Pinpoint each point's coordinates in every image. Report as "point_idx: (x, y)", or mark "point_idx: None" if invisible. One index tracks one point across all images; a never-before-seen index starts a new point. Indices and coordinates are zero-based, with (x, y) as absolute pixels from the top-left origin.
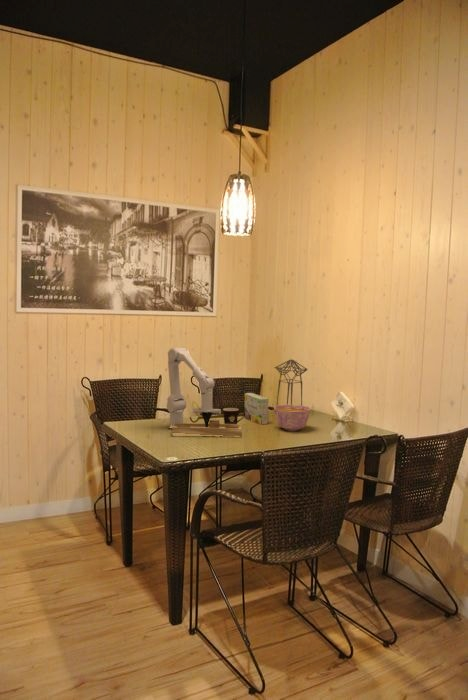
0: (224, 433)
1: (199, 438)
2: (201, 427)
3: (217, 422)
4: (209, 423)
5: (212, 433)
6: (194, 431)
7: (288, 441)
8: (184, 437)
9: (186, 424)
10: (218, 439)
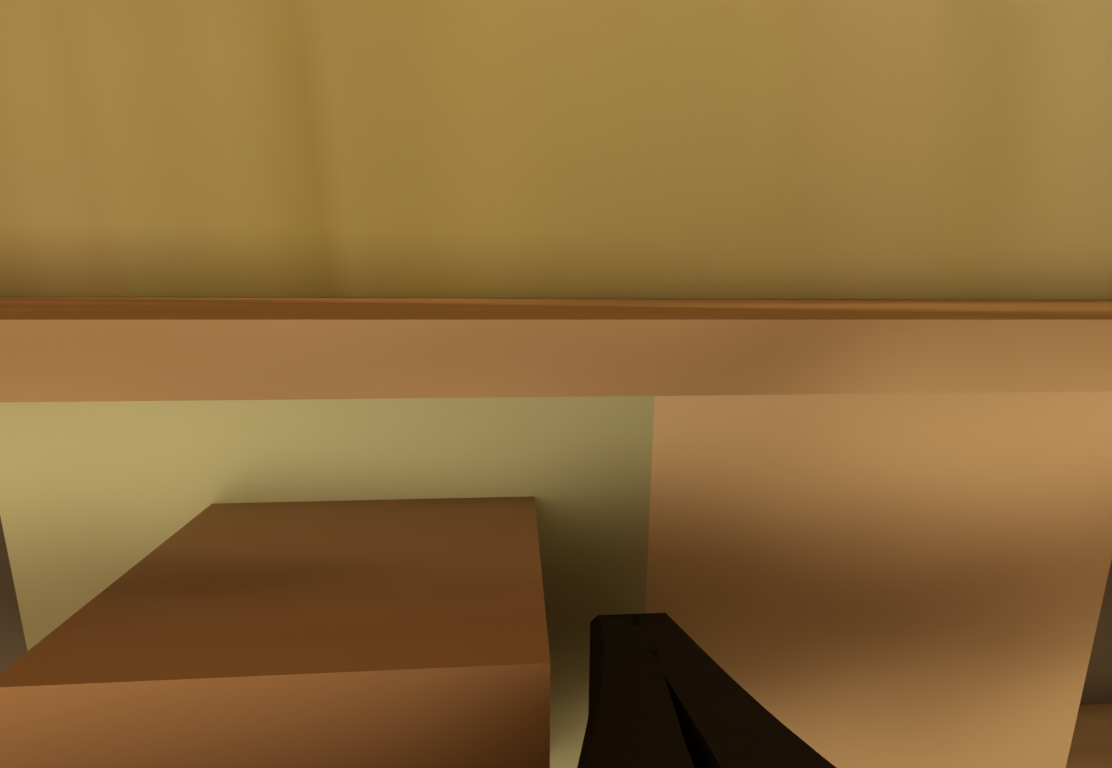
0: (30, 304)
1: (758, 135)
2: None
3: (80, 677)
4: (536, 620)
5: (421, 305)
6: (980, 307)
7: None
8: (1105, 226)
9: None
10: (241, 31)
